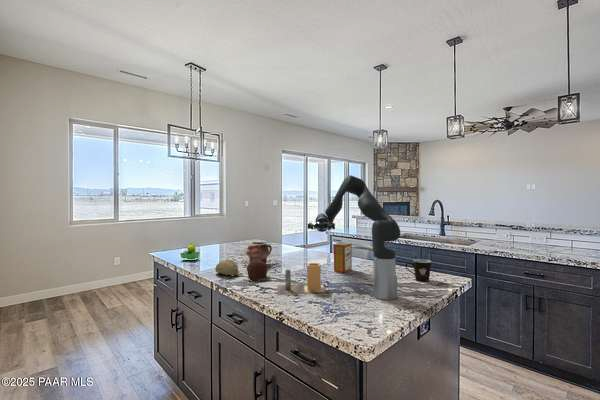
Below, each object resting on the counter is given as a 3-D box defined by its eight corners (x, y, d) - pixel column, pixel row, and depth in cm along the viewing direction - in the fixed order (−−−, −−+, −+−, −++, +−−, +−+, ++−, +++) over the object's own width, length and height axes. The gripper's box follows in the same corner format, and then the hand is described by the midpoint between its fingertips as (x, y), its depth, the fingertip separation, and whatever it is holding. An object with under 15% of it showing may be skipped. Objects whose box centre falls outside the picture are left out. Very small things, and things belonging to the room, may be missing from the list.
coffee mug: (433, 279, 157) (433, 260, 157) (427, 283, 151) (427, 263, 151) (411, 275, 165) (411, 257, 165) (404, 279, 159) (404, 260, 159)
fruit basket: (179, 261, 207) (179, 244, 207) (186, 258, 216) (186, 242, 215) (195, 261, 205) (194, 244, 205) (201, 258, 214) (201, 242, 214)
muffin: (242, 279, 161) (241, 261, 160) (258, 275, 169) (258, 257, 168) (256, 284, 152) (256, 264, 152) (273, 279, 161) (272, 260, 160)
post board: (323, 287, 147) (323, 265, 147) (327, 297, 133) (326, 273, 133) (277, 288, 146) (277, 266, 146) (276, 298, 132) (276, 274, 132)
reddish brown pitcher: (264, 260, 207) (264, 239, 207) (277, 262, 199) (277, 241, 199) (241, 265, 192) (241, 243, 191) (254, 268, 184) (254, 245, 184)
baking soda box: (341, 268, 183) (341, 241, 183) (351, 269, 180) (351, 242, 179) (334, 271, 176) (333, 244, 175) (344, 273, 172) (344, 245, 171)
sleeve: (308, 286, 143) (308, 262, 143) (320, 286, 142) (320, 263, 142) (307, 290, 137) (307, 265, 137) (319, 290, 137) (319, 266, 136)
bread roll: (223, 271, 180) (223, 257, 179) (242, 274, 172) (242, 260, 172) (211, 274, 171) (210, 260, 171) (230, 278, 164) (230, 263, 163)
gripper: (309, 217, 170) (306, 220, 154) (335, 217, 168) (334, 220, 152) (309, 230, 170) (306, 234, 154) (335, 231, 169) (334, 235, 153)
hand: (320, 227), depth 153 cm, fingers open, 8 cm apart
